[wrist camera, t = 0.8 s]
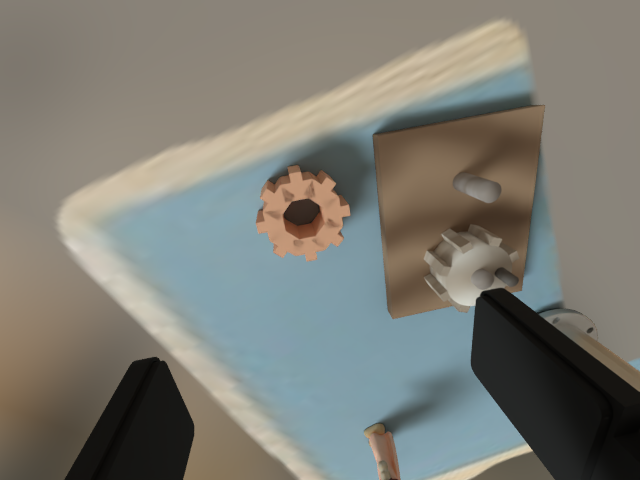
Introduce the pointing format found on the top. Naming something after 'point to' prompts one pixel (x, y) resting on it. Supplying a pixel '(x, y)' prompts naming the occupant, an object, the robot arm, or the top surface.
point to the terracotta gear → (307, 235)
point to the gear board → (456, 207)
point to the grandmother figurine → (383, 452)
